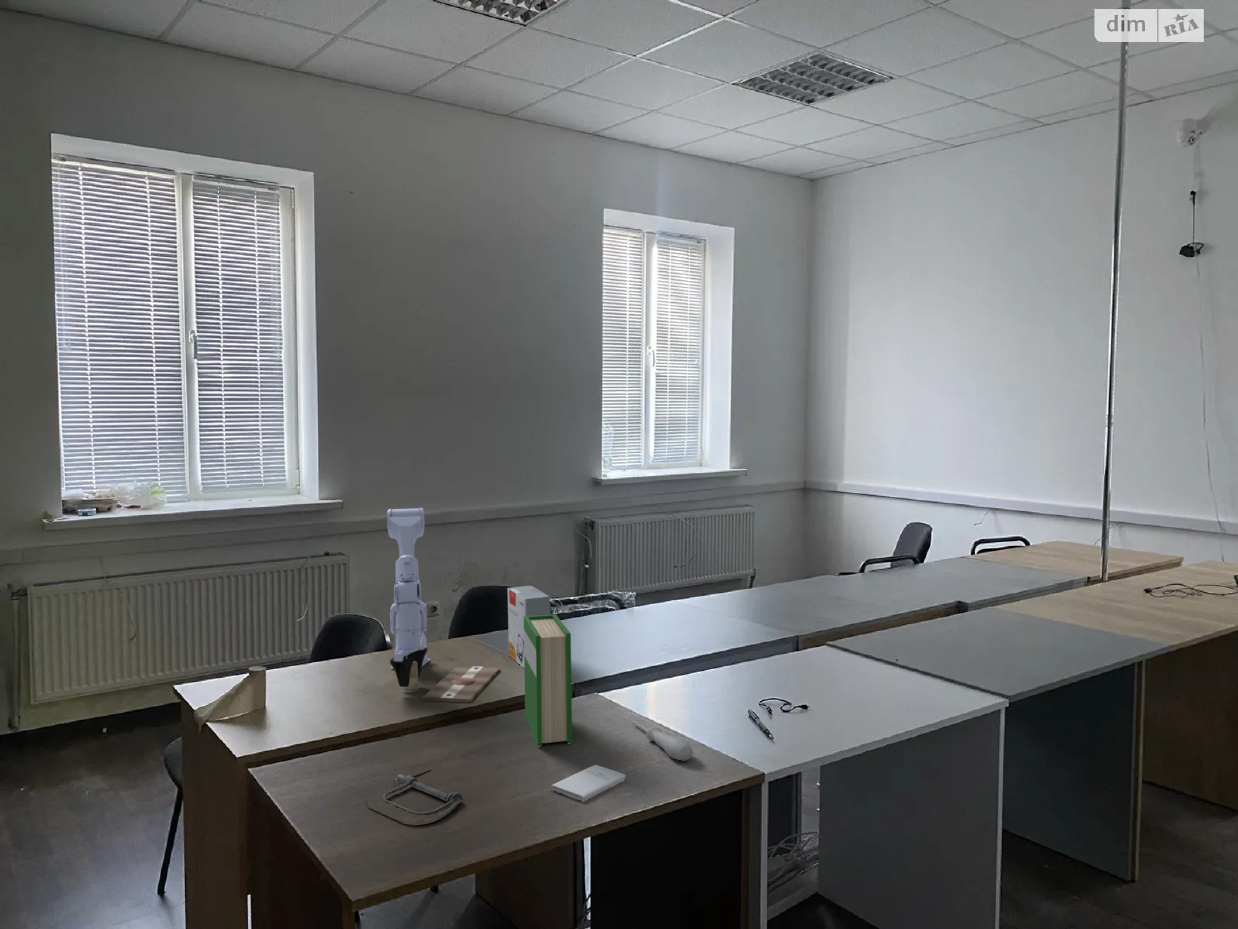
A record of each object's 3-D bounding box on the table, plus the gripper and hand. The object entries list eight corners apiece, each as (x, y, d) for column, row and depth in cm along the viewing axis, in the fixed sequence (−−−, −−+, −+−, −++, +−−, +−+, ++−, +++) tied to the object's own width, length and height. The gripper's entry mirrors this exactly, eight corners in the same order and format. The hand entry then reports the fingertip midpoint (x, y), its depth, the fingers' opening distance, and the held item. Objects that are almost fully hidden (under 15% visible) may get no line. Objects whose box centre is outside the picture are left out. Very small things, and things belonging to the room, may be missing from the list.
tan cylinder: (405, 687, 230) (404, 660, 229) (420, 688, 229) (419, 661, 229) (399, 692, 226) (398, 665, 225) (414, 693, 225) (414, 666, 225)
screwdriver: (639, 731, 203) (642, 712, 204) (696, 765, 181) (699, 744, 181) (620, 730, 201) (624, 711, 202) (675, 764, 179) (679, 743, 179)
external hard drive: (550, 793, 169) (594, 771, 178) (583, 805, 164) (626, 782, 173) (550, 784, 169) (594, 763, 178) (583, 796, 163) (626, 774, 173)
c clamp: (350, 800, 167) (349, 786, 166) (429, 772, 179) (428, 758, 179) (410, 837, 152) (410, 821, 152) (491, 803, 165) (491, 789, 165)
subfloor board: (457, 668, 245) (457, 665, 245) (499, 670, 244) (499, 666, 243) (422, 700, 220) (422, 696, 220) (470, 702, 218) (469, 698, 218)
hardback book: (572, 744, 191) (570, 633, 189) (537, 748, 189) (535, 636, 188) (557, 716, 208) (555, 614, 206) (525, 719, 206) (523, 616, 205)
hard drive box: (507, 656, 257) (506, 587, 256) (533, 653, 260) (532, 585, 259) (525, 671, 243) (524, 598, 241) (552, 667, 246) (551, 595, 245)
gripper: (412, 636, 219) (414, 691, 220) (433, 622, 233) (435, 673, 234) (385, 635, 220) (386, 690, 221) (407, 621, 234) (409, 672, 235)
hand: (409, 681), depth 227 cm, fingers open, 7 cm apart
